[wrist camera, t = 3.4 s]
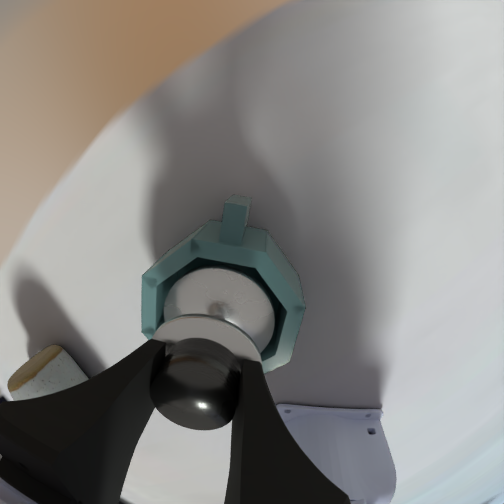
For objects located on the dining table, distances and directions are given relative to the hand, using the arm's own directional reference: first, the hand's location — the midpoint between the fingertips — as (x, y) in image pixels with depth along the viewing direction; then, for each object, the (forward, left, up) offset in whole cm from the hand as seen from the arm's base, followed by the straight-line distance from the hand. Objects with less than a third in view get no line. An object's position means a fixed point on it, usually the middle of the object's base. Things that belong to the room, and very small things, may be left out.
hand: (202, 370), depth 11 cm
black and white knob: (0, 0, -4) cm, 4 cm away
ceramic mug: (+14, +14, -8) cm, 21 cm away
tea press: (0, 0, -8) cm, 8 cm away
